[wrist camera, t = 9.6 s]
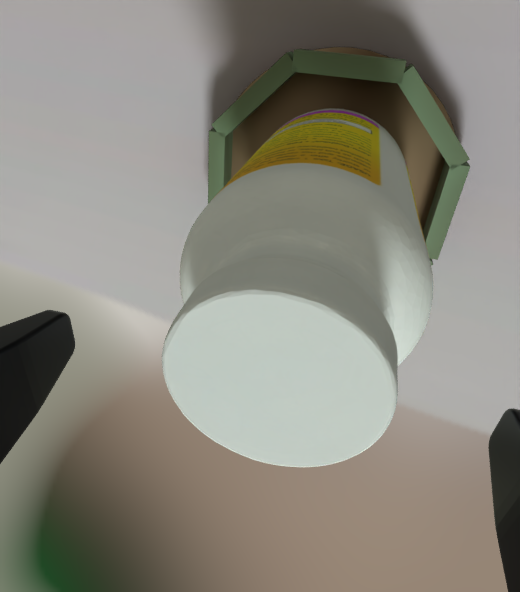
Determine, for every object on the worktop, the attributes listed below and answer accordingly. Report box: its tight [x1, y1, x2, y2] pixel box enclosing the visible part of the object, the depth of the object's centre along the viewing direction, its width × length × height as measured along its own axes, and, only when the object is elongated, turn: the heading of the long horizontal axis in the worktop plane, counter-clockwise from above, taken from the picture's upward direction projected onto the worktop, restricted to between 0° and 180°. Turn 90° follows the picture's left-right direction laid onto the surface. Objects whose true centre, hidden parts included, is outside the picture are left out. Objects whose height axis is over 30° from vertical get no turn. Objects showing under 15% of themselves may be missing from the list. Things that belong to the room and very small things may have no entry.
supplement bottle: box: [162, 108, 433, 467], centre depth 13 cm, size 7×7×13 cm
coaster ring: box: [208, 47, 470, 265], centre depth 18 cm, size 11×11×2 cm
